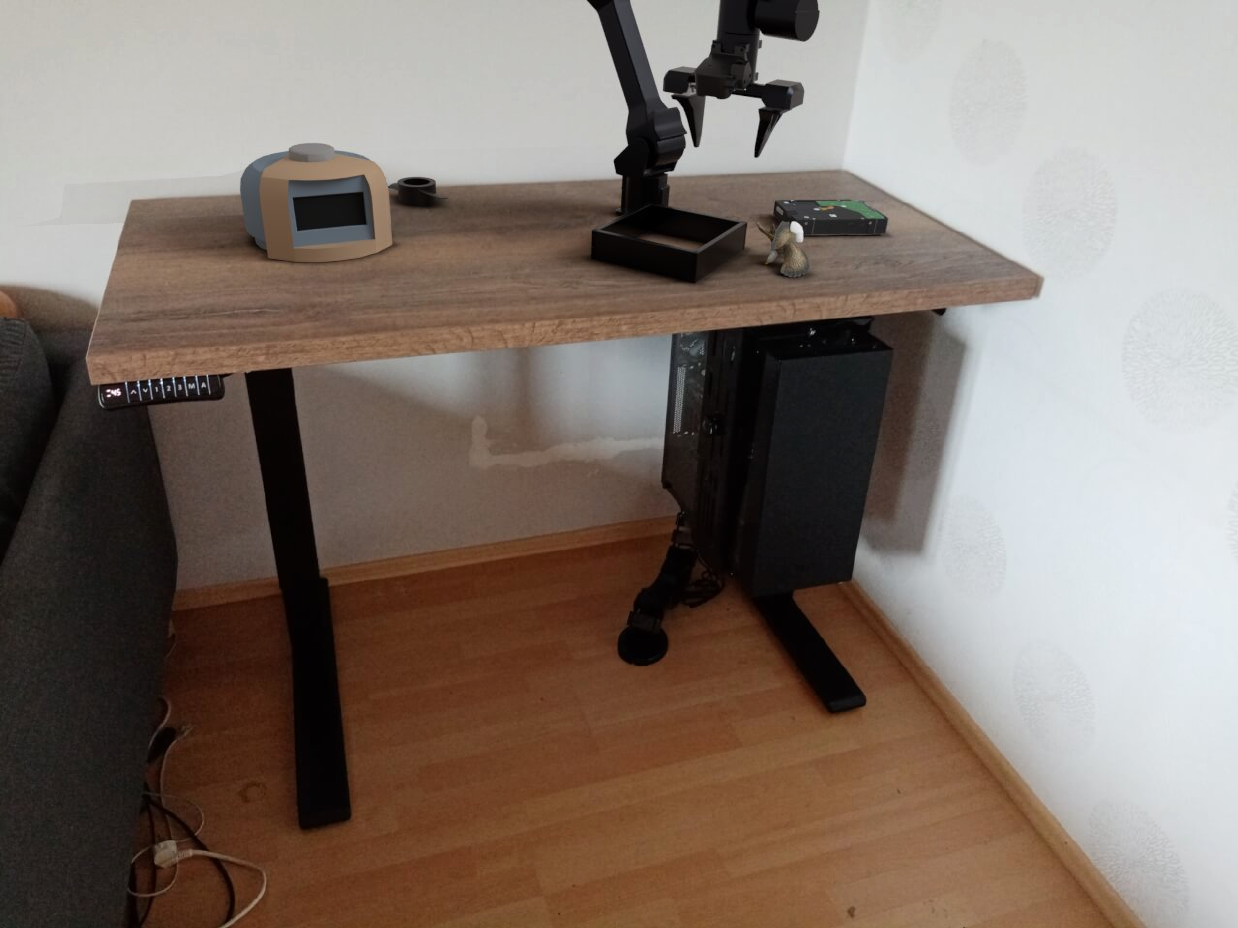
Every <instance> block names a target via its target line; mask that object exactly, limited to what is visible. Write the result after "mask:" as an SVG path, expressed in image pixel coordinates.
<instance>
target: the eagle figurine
mask: <svg viewBox="0 0 1238 928" xmlns="http://www.w3.org/2000/svg"><path fill="white" fill-rule="evenodd" d="M755 224H756V227H757V229H758V230H759V231H760V232H761V233H762V234H763V235H765V237H767V238H768V239H769V241H770V243H771V246H770V251H771V252H770V253H769V254H768V256H767V260H766V262H765V263H764V264H765V265H768V264H770V263H773V262H774V261H775V260H776V259H777V257H779V256H781V255H783V264H782V266H781V268H780V274H783V276H785V277H786V276H787V277H788V278H797V277H801V276H804V275H805V274H807V273H808V272H809V270H810V262H809V260H808V258H809V257H808V255H807V254H806V252H805V251H804V250H803V248H802V247H801V246H800V245H799V244H801V243H803V241H804V235H803V228H802V226H801V225H800V224H798V223H797V222H795V221H794V222H793V221H792V222H791V224H790V230H789V221H788V222H784V221H782V222H779V225H778V226H777V228H775V224H774V223H772V224H770V226H769V229H768V230H769V231H768V230H767V229H765V228H764V227H763V226H762V224H761V223H760V222H759V221H756V222H755Z"/></svg>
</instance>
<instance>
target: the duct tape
mask: <svg viewBox="0 0 1238 928" xmlns="http://www.w3.org/2000/svg"><path fill="white" fill-rule="evenodd" d="M388 188H389V190H391V189H392V190H395V191H397V197H398V203H399V204H402V205H404V206H408V207H425V206H432V205H435V204H436V203H437V201H438V200H439V199H440V200H449V198H448V197H445V196H442V195H439V194H437V181H436V180H435V179H434V178H430V177H425V176H407V177H403V178H399V179H398V180H397V181H396V182H392V183H390V184H389V185H388ZM437 199H438V200H437Z"/></svg>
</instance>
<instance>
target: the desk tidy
mask: <svg viewBox="0 0 1238 928" xmlns="http://www.w3.org/2000/svg"><path fill="white" fill-rule="evenodd" d="M747 229H748V221H744V220H738V219H734V218H729V217H725V216H720V215H714V214H709V213H705V212H701V211H700V212H699V211H694V210H690V209H685V208H680V207H676V206H675V207H674V206H670V205H668V206H665V205H660V204H655V203H650V202H648V203H646V204H644V205H642V206H640V207H638V208H636V209H634V210H632V211H630V212H628V213H626V214H624V215H620V216H618V217H616V218H613V219H612V220H610V221H608V222H605V223H603V224H602V225H599V226H597V227H595V228H593V229H592V230H591V236H590V237H591V241H590V260H594V261H598V262H603V263H607V264H610V265H615V266H620V267H624V268H628V269H633V270H637V271H641V272H645V273H649V274H653V275H657V276H663V277H667V278H671V279H675V280H680V281H683V282H689V283H693V284H696V283H697V282H699V281H700V280H702V279H703V278H705V277H706V276H707V275H709V274H711V273H712V272H714V271H715V270H717V269H718V268H719V267H721V266H723V265H724V264H725V263H727V262H728V261H730V260H732V259H733V258H734V257H736V256H737V255H739V254H740V253H741V252H743V251H745V247H746V238H747ZM648 232H651V233H655V234H661V235H665V236H670V237H674V238H680V239H684V240H688V241H693V242H698V243H703V245H702V246H700V247H699V248H697V249H695V250H694V249H688V248H684V247H680V246H675V245H670V244H666V243H662V242H658V241H653V240H648V239H643V238H639V237H642V236H643V235H645V234H647V233H648Z"/></svg>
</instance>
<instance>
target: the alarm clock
mask: <svg viewBox="0 0 1238 928" xmlns="http://www.w3.org/2000/svg"><path fill="white" fill-rule="evenodd" d="M388 186H389V185H388V181H387V177H386V175H385V174H384V171H383V170H382V168H381V167H380V166H379V165H378V163H377V162H376V161H374V160H371V159H369V157H366V156H365V155H362V154H358V153H355V152H351V151H344V150H336V149H335V147H334V146H332V145H330V144H327V143H320V142H305V143H297V144H293V145H291V146H290V147H289V148H288V150H285V151H280V152H274V153H269V154H266V155H263V156H261V157H259V158H256V159H255V160H254V161H252V162H251V163H249V164H248V165H247V166H246V167H245V168H244V171H243V173H242V175H241V177H240V183H239V192H240V193H239V195H240V200H241V207H242V213H243V219H244V220H243V221H244V227H245V231H246V232H247V234H249V235H250V236H251V237H253V238H254V239H255V240H254V241H255V244H256V245H258V247H259V248H261V249H263V250H266V252H267V258H268V259H273V260H279V261H285V262H286V261H287V262H293V263H294V262H295V263H328V262H338V261H339V262H341V261H347V260H354V259H360V258H363V257H367V256H371V255H373V254H374V255H375V254H377V253H380V252H381V251H383V250H385V249H387V248H389V247H391V246H393V236H392V218H391V204H390V192H389V191H390V188H388Z"/></svg>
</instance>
